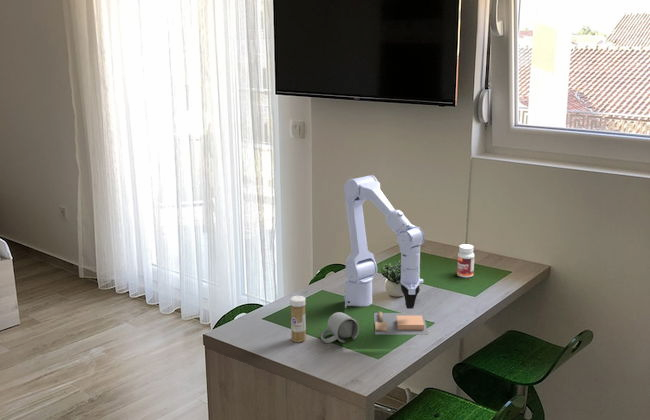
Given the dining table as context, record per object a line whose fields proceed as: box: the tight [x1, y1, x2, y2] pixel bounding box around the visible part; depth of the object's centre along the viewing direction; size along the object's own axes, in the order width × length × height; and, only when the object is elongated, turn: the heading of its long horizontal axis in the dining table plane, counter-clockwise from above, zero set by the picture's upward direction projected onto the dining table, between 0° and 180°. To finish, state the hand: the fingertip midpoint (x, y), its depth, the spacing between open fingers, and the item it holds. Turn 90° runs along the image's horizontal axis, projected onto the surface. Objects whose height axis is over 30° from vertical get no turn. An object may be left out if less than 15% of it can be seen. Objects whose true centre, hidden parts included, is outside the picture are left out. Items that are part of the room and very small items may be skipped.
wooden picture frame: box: [397, 316, 424, 330], centre depth 215 cm, size 8×2×7 cm
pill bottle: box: [456, 243, 475, 278], centre depth 257 cm, size 6×6×11 cm
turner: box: [374, 311, 387, 331], centre depth 217 cm, size 4×12×1 cm, turn 177°
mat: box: [373, 312, 429, 336], centre depth 217 cm, size 16×16×1 cm
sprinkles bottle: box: [289, 295, 307, 343], centre depth 207 cm, size 5×5×14 cm
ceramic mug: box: [320, 311, 360, 344], centre depth 208 cm, size 11×8×8 cm
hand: (409, 307), depth 215 cm, fingers closed
